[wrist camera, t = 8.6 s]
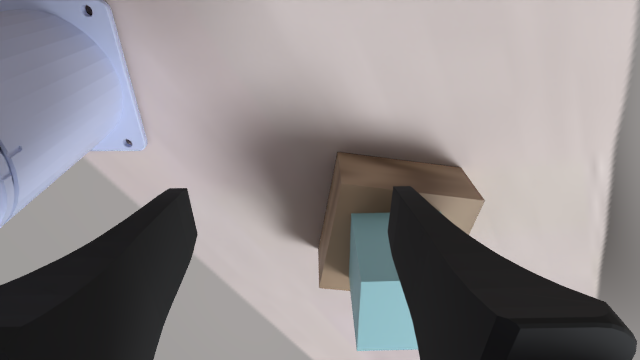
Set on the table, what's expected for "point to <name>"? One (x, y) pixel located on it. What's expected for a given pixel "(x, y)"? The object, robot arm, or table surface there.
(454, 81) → the table surface
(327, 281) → the walnut block
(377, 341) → the teal cube
